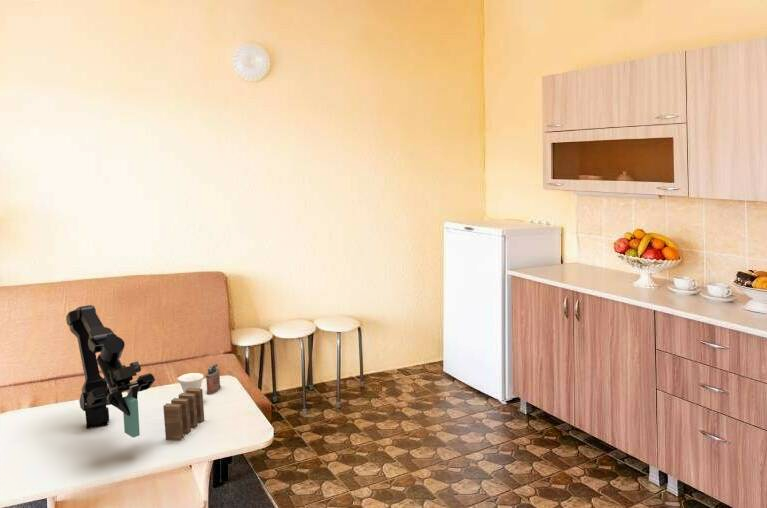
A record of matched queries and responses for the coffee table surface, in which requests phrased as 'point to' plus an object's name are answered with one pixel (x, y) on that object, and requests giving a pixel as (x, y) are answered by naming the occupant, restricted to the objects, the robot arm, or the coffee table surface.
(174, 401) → the brown wooden block
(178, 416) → the tile
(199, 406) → the tile
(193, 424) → the brown wooden plank
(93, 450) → the coffee table surface
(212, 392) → the lighter
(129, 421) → the tile
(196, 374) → the cup
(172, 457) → the coffee table surface
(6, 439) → the coffee table surface
